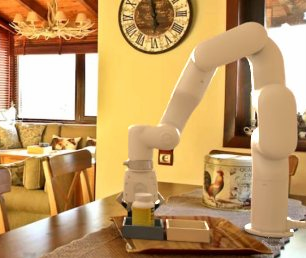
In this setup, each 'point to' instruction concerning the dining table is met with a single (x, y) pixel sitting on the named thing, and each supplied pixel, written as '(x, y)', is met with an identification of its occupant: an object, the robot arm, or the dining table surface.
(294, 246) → the dining table surface
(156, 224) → the slate bin
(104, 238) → the dining table surface
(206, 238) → the cream bin
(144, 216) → the pill bottle
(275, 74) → the robot arm
